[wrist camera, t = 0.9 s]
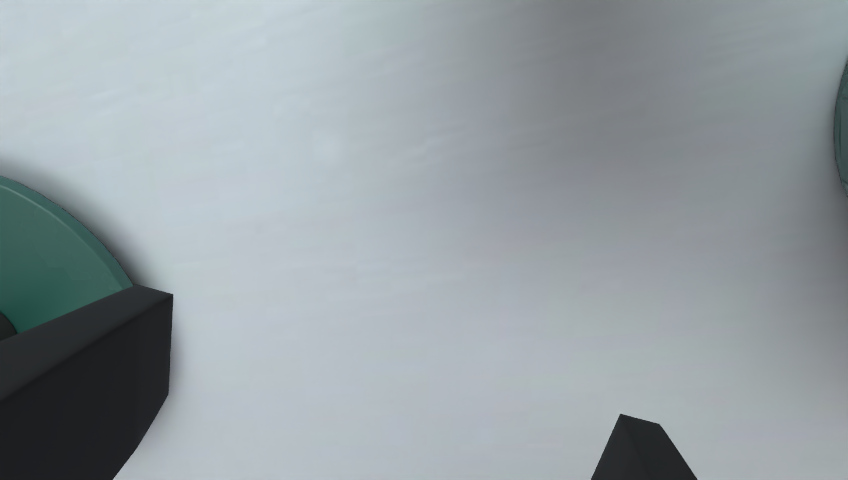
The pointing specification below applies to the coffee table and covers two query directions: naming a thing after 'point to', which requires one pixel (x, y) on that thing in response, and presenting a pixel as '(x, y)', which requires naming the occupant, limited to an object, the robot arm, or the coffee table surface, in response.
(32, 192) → the lid
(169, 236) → the coffee table surface
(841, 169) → the pot
